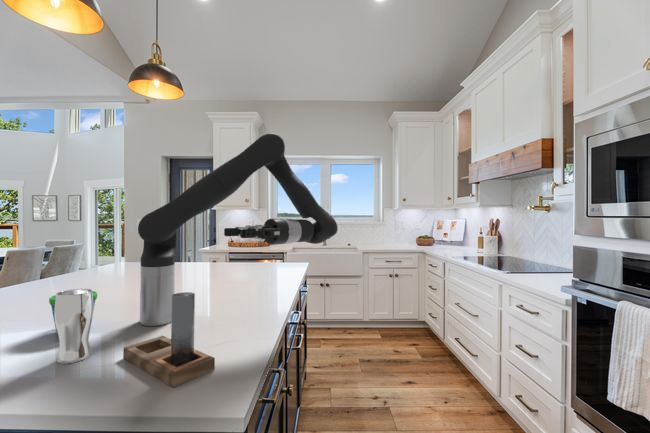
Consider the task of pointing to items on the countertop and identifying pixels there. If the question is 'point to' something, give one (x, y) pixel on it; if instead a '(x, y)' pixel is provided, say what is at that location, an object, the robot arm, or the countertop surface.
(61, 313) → the beer glass
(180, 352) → the metal peg
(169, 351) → the wooden peg holder
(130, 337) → the countertop surface
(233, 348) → the countertop surface
